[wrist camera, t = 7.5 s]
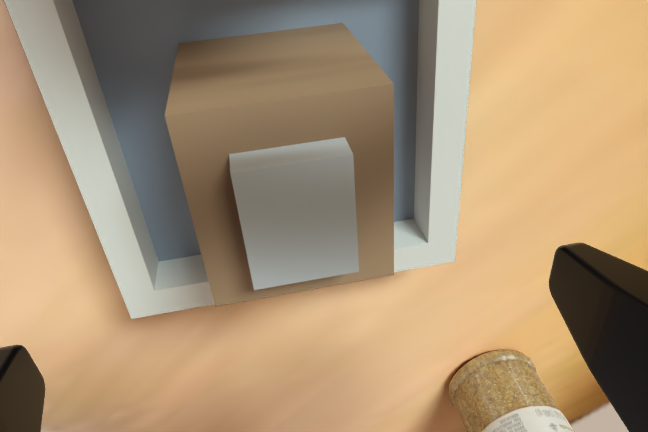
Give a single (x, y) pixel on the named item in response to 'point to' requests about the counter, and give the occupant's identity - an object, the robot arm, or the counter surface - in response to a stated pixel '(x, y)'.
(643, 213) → the counter surface
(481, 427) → the sprinkles bottle
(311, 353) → the counter surface
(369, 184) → the brown block
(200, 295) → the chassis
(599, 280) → the robot arm
